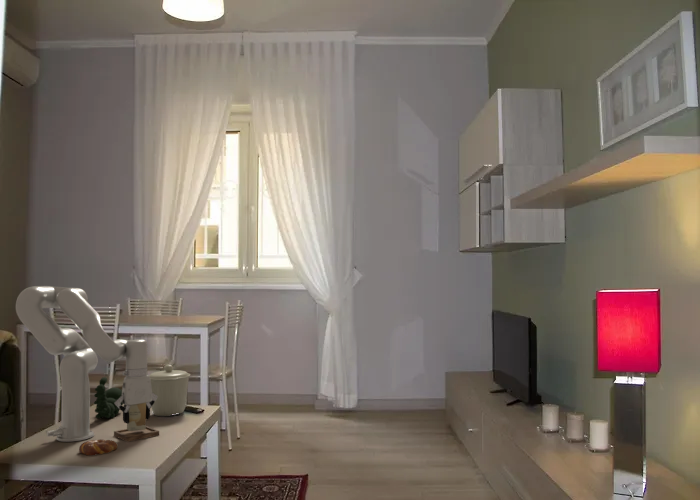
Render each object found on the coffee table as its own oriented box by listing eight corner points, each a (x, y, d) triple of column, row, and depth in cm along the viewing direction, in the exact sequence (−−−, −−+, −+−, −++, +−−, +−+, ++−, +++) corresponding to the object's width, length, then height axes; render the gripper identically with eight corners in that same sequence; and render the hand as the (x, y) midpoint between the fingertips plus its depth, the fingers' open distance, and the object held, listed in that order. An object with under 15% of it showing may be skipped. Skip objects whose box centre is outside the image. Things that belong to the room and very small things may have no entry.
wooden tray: (127, 441, 208) (127, 437, 208) (113, 435, 216) (113, 431, 216) (159, 435, 216) (159, 430, 216) (144, 429, 225) (144, 425, 225)
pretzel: (119, 446, 204) (119, 435, 204) (115, 454, 194) (115, 443, 194) (82, 448, 201) (82, 437, 201) (76, 457, 190) (76, 446, 191)
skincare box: (128, 431, 213) (128, 398, 214) (126, 429, 217) (126, 396, 217) (146, 429, 216) (146, 396, 217) (144, 426, 220) (144, 394, 220)
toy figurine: (112, 426, 237) (130, 407, 262) (110, 380, 237) (129, 366, 262) (88, 427, 237) (108, 408, 262) (87, 381, 236) (107, 366, 261)
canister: (179, 419, 241) (179, 368, 242) (138, 418, 243) (138, 367, 244) (197, 409, 258) (197, 362, 259) (159, 408, 261) (159, 361, 262)
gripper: (117, 377, 209) (117, 427, 208) (163, 371, 221) (163, 418, 220) (109, 374, 214) (109, 423, 213) (154, 369, 226) (154, 415, 225)
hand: (136, 420), depth 217 cm, fingers closed on skincare box, 7 cm apart
